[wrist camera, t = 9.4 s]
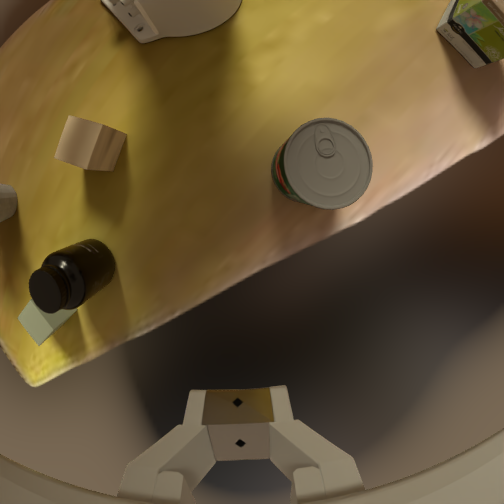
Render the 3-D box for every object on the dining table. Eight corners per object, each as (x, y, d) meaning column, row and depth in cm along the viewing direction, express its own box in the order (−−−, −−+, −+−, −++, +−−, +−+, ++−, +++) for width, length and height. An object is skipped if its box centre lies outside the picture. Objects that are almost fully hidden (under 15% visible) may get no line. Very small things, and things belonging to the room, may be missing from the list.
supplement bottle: (104, 229, 34) (51, 249, 23) (124, 277, 36) (81, 314, 24) (67, 248, 35) (14, 272, 23) (87, 293, 36) (40, 329, 25)
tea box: (475, 71, 30) (533, 51, 16) (433, 29, 29) (486, -6, 14) (488, 31, 27) (534, 10, 13) (451, -6, 26) (494, -36, 12)
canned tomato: (341, 195, 34) (380, 201, 24) (279, 208, 35) (295, 219, 24) (327, 132, 33) (361, 113, 22) (264, 144, 33) (274, 125, 22)
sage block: (42, 300, 36) (17, 318, 30) (57, 283, 36) (30, 299, 29) (62, 325, 37) (38, 346, 31) (77, 309, 37) (53, 330, 30)
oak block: (83, 160, 32) (54, 157, 26) (96, 125, 31) (69, 115, 25) (113, 171, 33) (86, 169, 26) (127, 134, 32) (102, 124, 25)
